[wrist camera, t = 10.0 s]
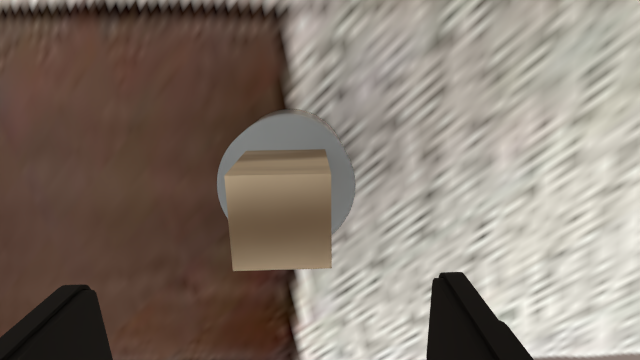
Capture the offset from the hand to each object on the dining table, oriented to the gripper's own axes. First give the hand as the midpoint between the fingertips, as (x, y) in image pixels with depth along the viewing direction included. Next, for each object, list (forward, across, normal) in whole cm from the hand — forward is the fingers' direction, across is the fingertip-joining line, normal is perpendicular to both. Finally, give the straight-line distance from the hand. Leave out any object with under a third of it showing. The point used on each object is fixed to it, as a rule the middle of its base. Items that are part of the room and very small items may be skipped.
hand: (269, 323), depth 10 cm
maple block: (+14, 0, 0) cm, 14 cm away
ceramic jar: (+20, +1, +1) cm, 21 cm away
